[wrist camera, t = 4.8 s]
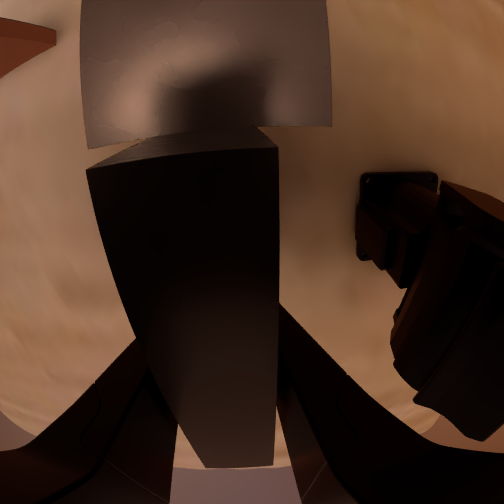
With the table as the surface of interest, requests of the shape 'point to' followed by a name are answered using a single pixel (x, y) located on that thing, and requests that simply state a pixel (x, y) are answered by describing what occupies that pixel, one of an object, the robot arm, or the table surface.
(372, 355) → the table surface
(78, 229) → the table surface
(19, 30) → the tile
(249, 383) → the turner
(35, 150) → the table surface
